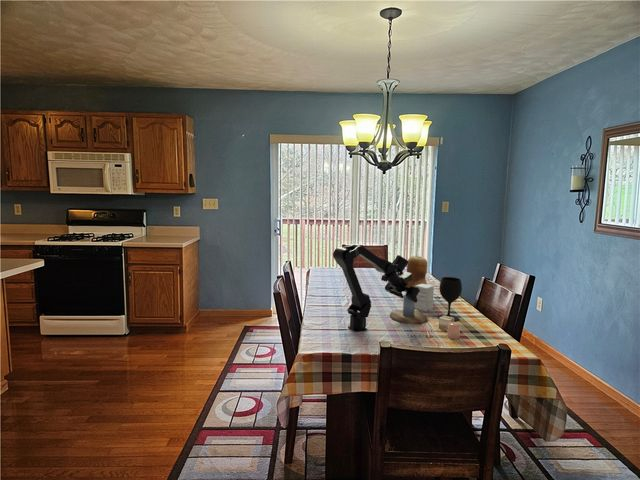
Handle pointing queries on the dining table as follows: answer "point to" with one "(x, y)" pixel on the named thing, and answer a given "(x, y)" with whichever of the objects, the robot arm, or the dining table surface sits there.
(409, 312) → the blue-grey cup
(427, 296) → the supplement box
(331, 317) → the dining table surface
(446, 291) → the wine glass
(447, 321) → the birch block
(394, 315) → the brown bread loaf
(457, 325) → the pink short cylinder
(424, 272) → the butternut squash
